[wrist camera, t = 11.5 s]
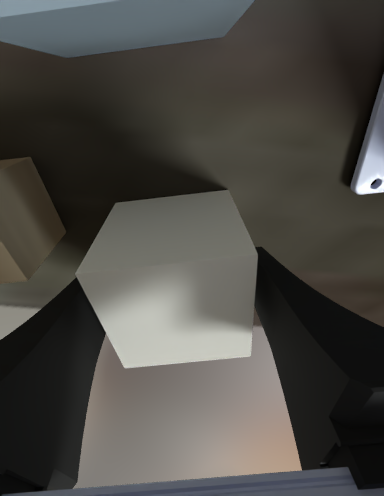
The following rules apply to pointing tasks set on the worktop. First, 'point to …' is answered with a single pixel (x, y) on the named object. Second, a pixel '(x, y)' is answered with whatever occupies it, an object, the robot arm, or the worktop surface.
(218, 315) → the cover
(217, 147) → the worktop surface
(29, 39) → the cover
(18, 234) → the letter cube
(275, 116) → the worktop surface
